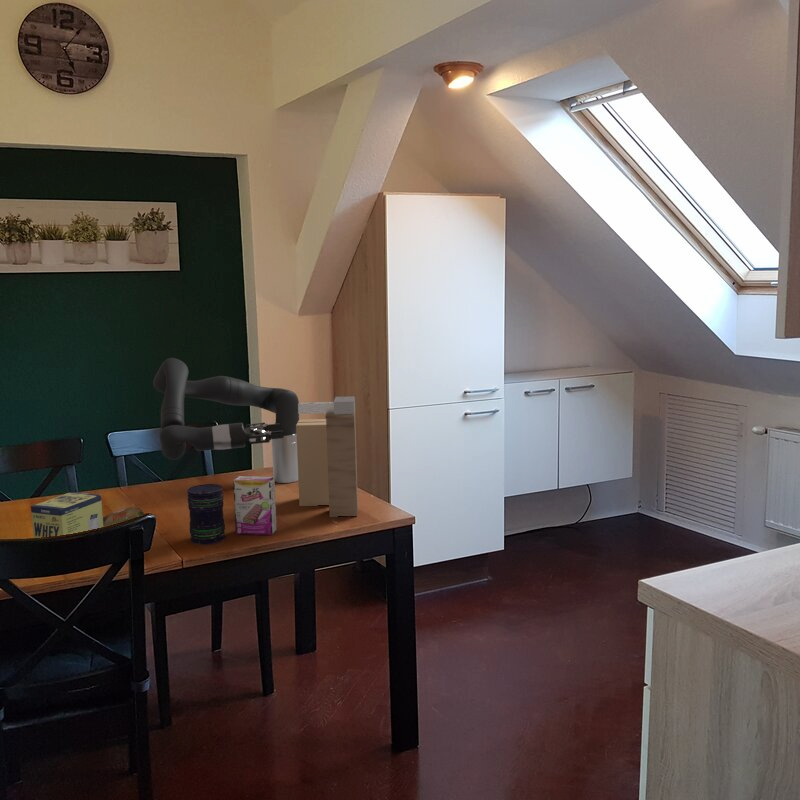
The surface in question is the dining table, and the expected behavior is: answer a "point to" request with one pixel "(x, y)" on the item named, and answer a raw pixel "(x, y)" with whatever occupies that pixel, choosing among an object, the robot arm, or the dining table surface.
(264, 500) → the candy bar box
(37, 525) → the protein box
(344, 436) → the tall wooden plank
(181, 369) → the robot arm
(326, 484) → the cardboard box
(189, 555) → the dining table surface
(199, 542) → the storage jar
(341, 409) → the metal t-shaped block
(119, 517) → the tin
